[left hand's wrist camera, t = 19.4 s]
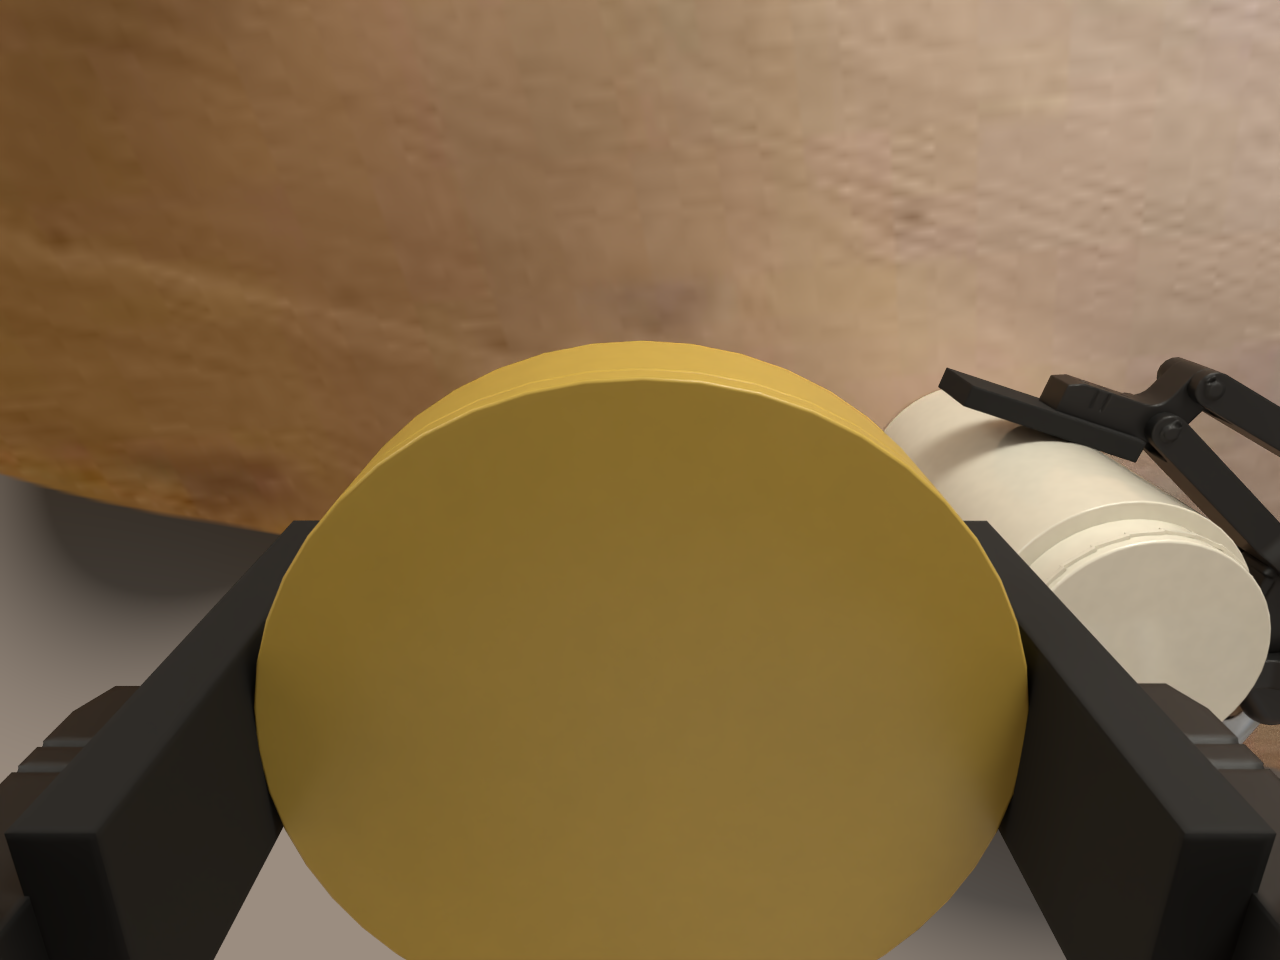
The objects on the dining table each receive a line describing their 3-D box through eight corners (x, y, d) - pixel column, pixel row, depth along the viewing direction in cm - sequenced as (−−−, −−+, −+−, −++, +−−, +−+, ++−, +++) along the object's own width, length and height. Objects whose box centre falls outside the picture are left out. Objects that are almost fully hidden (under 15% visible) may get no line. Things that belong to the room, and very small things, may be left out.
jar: (1076, 399, 38) (1339, 544, 24) (1020, 568, 41) (1227, 790, 27) (891, 371, 38) (1046, 503, 23) (848, 544, 40) (963, 757, 26)
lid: (392, 944, 14) (357, 1056, 12) (224, 389, 11) (146, 434, 9) (973, 889, 13) (1021, 995, 12) (976, 293, 10) (1042, 322, 9)
